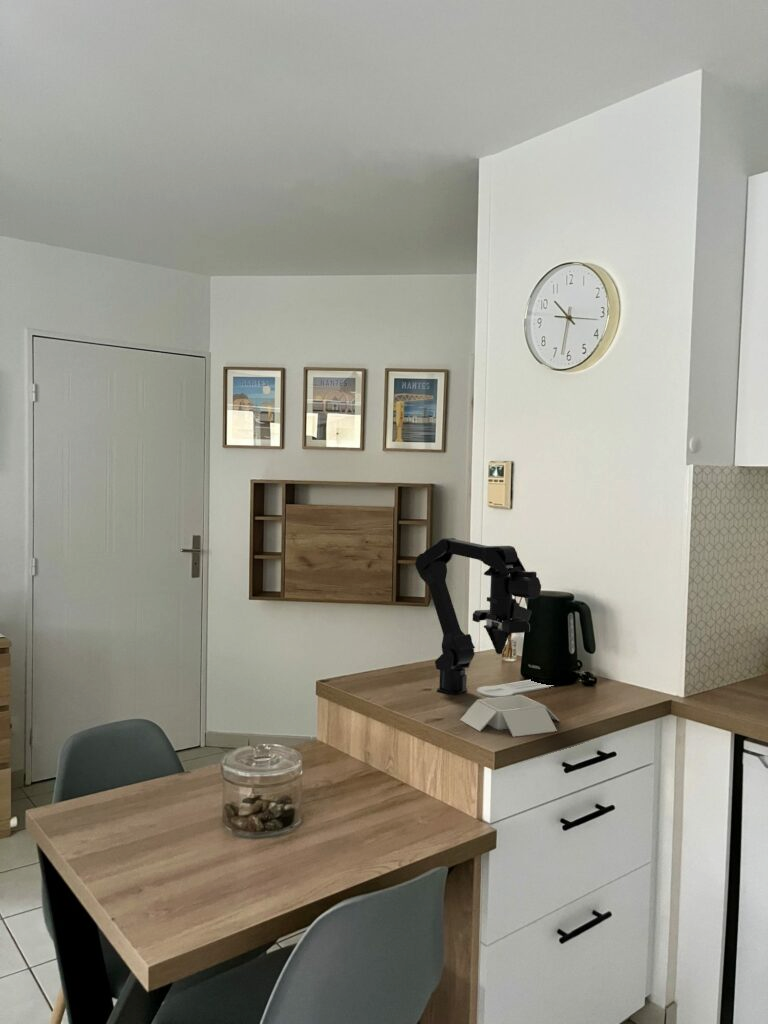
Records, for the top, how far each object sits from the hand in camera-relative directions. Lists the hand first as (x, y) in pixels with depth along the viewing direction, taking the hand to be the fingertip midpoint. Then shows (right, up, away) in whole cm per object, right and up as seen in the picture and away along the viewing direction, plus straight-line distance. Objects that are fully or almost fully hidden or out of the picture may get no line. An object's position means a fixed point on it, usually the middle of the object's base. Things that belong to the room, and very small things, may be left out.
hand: (499, 654), depth 202 cm
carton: (+1, -14, -14) cm, 20 cm away
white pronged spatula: (+8, -13, +17) cm, 23 cm away
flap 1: (-8, -11, -18) cm, 23 cm away
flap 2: (+9, -11, -11) cm, 18 cm away
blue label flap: (+4, -12, -22) cm, 25 cm away
